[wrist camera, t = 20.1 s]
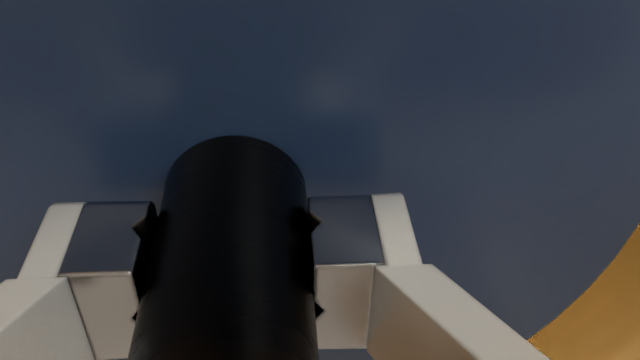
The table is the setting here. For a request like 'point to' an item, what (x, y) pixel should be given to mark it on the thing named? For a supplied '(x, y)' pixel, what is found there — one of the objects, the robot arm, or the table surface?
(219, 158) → the pot lid
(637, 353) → the table surface
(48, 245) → the robot arm
